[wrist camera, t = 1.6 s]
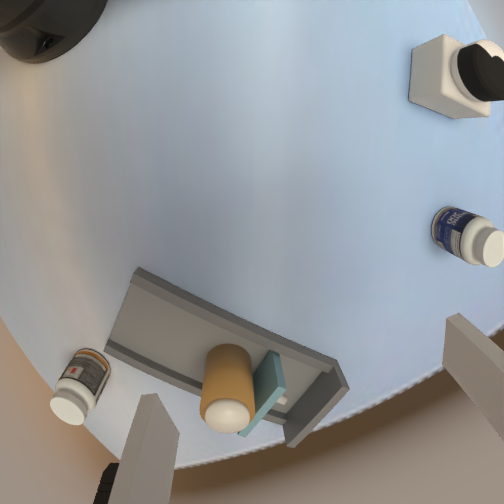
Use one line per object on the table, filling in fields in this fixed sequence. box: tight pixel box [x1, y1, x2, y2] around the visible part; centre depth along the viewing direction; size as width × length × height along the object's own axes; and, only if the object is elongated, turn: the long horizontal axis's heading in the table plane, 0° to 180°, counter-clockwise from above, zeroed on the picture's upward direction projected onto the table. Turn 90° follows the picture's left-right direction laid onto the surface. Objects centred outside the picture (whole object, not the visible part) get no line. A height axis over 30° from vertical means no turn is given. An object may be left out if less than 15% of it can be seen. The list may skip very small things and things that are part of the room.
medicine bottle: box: [409, 34, 504, 119], centre depth 24 cm, size 7×7×12 cm
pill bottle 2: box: [432, 207, 504, 267], centre depth 30 cm, size 5×5×10 cm
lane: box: [104, 267, 350, 448], centre depth 36 cm, size 27×12×6 cm, turn 61°
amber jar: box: [200, 343, 255, 433], centre depth 33 cm, size 6×6×10 cm
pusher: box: [238, 350, 288, 437], centre depth 36 cm, size 4×9×7 cm, turn 150°
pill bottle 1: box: [50, 349, 110, 425], centre depth 34 cm, size 6×6×10 cm
